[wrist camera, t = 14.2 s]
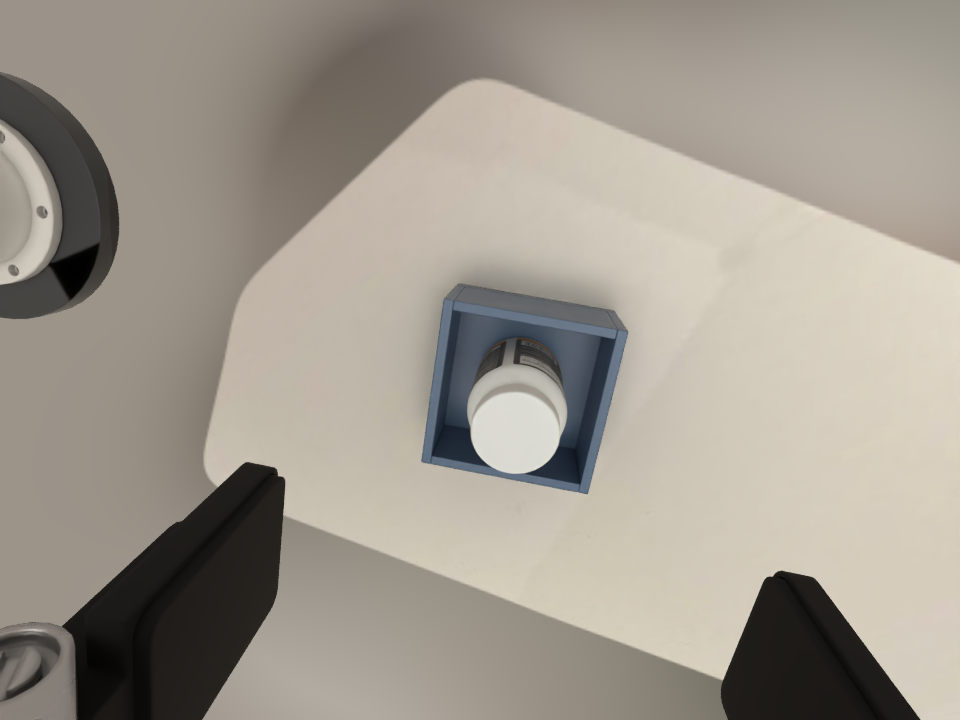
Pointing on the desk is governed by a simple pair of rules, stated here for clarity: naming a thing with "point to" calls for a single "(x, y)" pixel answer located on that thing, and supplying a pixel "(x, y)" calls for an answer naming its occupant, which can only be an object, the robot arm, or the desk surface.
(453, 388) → the bin
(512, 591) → the desk surface
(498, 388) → the pill bottle
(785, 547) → the desk surface
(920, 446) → the desk surface
